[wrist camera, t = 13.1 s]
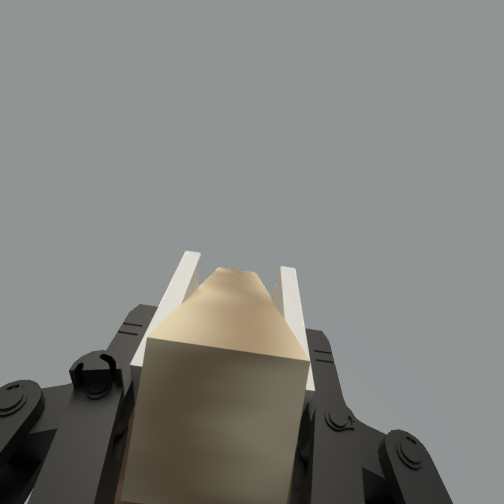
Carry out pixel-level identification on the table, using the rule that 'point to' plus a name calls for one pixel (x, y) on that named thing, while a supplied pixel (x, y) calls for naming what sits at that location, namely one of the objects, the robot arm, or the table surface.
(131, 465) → the wooden board
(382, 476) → the robot arm
